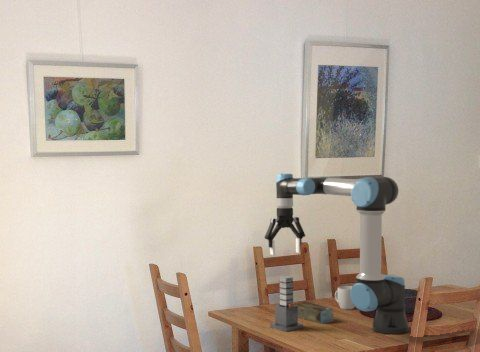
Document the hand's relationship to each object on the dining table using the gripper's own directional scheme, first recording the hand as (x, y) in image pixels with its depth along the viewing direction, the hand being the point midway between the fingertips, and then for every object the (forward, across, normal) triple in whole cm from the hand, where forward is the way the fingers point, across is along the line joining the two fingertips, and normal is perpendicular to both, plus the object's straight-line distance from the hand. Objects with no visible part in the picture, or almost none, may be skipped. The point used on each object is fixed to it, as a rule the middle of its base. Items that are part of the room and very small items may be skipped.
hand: (285, 253), depth 328 cm
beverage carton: (+29, -8, +10) cm, 32 cm away
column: (+27, +11, +19) cm, 35 cm away
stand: (+29, +11, +19) cm, 36 cm away
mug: (+29, -34, -2) cm, 45 cm away
